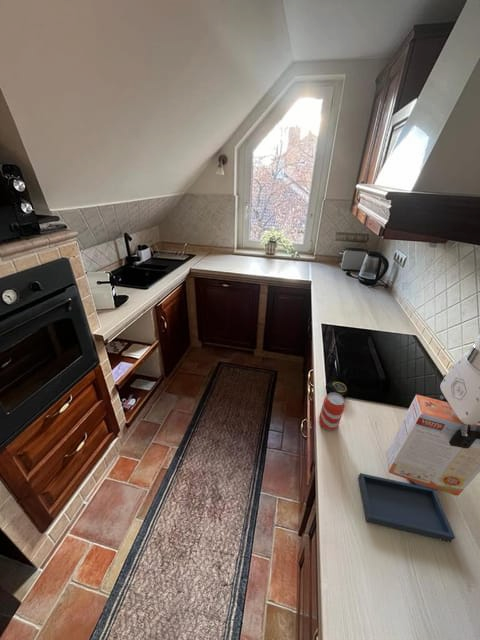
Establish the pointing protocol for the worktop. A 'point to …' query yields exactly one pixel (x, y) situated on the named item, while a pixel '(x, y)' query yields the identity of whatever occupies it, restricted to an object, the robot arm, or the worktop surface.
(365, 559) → the worktop surface
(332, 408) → the beverage can
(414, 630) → the worktop surface
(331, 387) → the tape measure
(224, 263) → the worktop surface
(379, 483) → the tray
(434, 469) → the cracker box
